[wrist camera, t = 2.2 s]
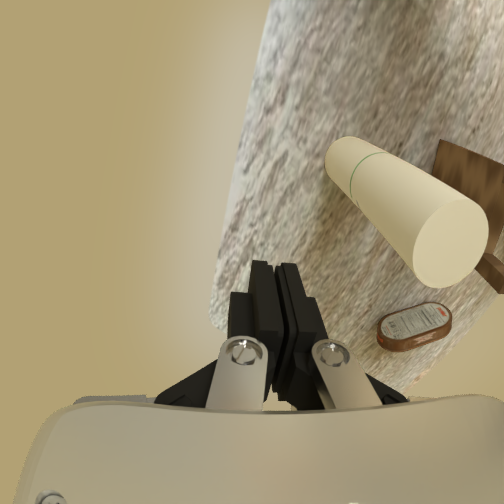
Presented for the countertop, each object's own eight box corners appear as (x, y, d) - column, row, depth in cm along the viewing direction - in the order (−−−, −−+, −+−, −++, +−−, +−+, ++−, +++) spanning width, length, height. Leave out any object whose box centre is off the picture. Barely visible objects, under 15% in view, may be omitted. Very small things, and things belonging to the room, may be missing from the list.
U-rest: (440, 139, 40) (540, 184, 22) (454, 144, 40) (553, 190, 22) (419, 217, 46) (498, 293, 28) (433, 220, 46) (512, 294, 28)
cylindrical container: (340, 195, 44) (426, 304, 22) (314, 153, 41) (398, 234, 19) (381, 169, 42) (493, 255, 20) (358, 126, 39) (478, 180, 17)
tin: (370, 328, 57) (385, 360, 49) (370, 316, 55) (386, 348, 48) (438, 306, 55) (458, 334, 48) (440, 294, 54) (461, 321, 47)
